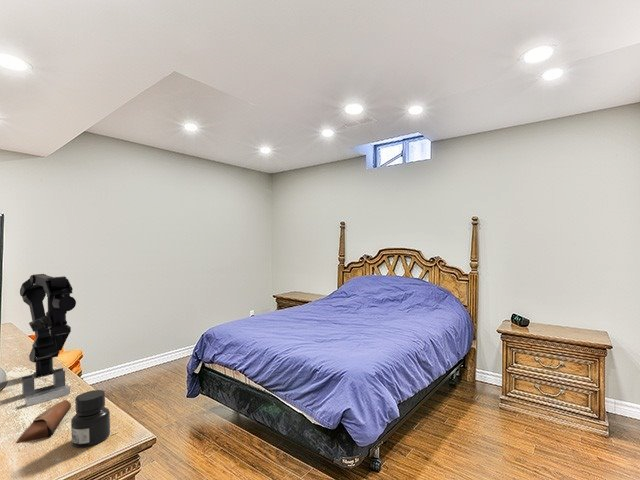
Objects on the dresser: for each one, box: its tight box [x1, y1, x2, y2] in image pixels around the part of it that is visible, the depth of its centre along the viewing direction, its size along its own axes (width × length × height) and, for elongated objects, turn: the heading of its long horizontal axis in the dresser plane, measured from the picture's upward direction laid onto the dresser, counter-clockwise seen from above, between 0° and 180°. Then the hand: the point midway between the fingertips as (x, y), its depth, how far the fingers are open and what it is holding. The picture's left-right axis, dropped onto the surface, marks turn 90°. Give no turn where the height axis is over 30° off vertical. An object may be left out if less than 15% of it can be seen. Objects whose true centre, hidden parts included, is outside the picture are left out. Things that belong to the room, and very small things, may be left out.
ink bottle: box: [70, 389, 111, 448], centre depth 96 cm, size 10×9×12 cm
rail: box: [24, 384, 71, 408], centre depth 122 cm, size 3×12×3 cm, turn 139°
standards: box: [21, 367, 66, 399], centre depth 129 cm, size 5×12×6 cm, turn 135°
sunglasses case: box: [16, 399, 72, 444], centre depth 104 cm, size 18×7×7 cm, turn 22°
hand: (57, 348), depth 138 cm, fingers open, 9 cm apart
